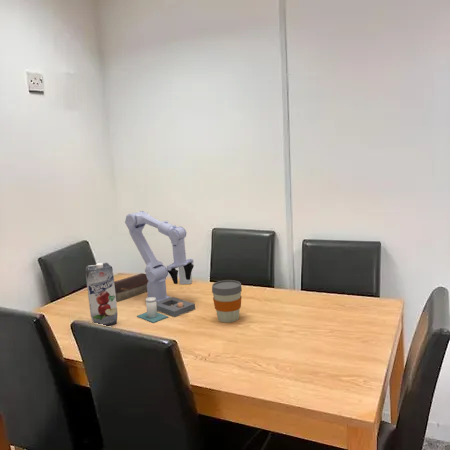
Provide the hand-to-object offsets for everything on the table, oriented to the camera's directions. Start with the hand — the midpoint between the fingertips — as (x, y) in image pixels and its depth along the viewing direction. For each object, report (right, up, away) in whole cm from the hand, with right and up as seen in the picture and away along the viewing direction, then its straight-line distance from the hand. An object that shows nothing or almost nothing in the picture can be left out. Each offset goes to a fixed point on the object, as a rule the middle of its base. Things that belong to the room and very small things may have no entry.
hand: (181, 281), depth 219 cm
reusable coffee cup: (+22, -13, -20) cm, 32 cm away
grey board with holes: (-3, -12, -5) cm, 13 cm away
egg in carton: (0, -12, -9) cm, 15 cm away
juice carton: (-31, -16, -18) cm, 39 cm away
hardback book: (-29, -8, +25) cm, 39 cm away
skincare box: (-1, -5, +32) cm, 33 cm away
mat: (-12, -14, -14) cm, 23 cm away
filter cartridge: (-12, -13, -14) cm, 23 cm away
